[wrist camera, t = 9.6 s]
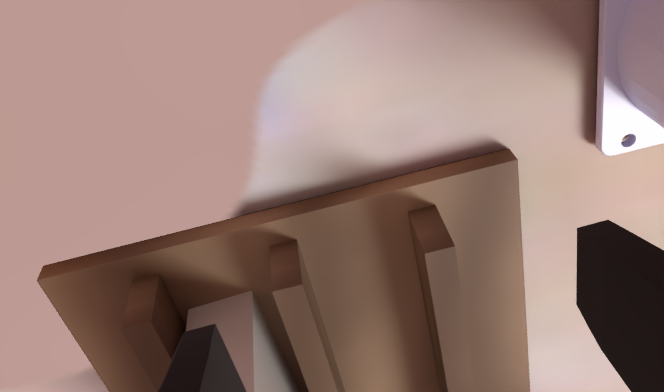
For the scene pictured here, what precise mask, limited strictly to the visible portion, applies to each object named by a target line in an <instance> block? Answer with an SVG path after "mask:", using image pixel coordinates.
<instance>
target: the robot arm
mask: <svg viewBox="0 0 664 392" xmlns="http://www.w3.org/2000/svg"><path fill="white" fill-rule="evenodd" d="M628 134H630V135H629V138H628V139H627V140H625V141H623V142H621V141H622V139H623V138H624V136H626V135H628ZM662 143H664V0H600V8H599V42H598V76H597V111H596V147H597V149H598V150H599V151H600V152H601V153H602V154H603V155H606V156H614V155H618V154H622V153H626V152H630V151H634V150H638V149H642V148H646V147H650V146H654V145H658V144H662ZM576 304H577V306H578V308H579V310H580V312H581V313H582V315H583V317H584V319H585V321H586V323H587V325H588V327H589V329H590V330H591V332H592V334H593V336H594V338H595V339H596V341H597V343H598V345H599V346H600V348H601V350H602V351H603V353H604V354H605V355H606V357H607V358H608V360H609V361H610V363H611V364H612V365H613V367H614V368H615V370H616V371H617V372H618V374H619V375H620V377H621V378H622V379H623V381H624V382H625V384H626V385H627V386H628V388H629V389H630V390H631V392H664V251H663V250H662V249H660V248H658V247H656V246H654V245H653V244H651V243H649V242H647V241H646V240H644V239H642V238H640V237H638V236H637V235H635V234H633V233H631V232H629V231H628V230H626V229H624V228H622V227H620V226H619V225H617V224H615V223H613V222H611V221H609V220H606V221H602V222H598V223H594V224H591V225H587V226H583V227H579V228H577V303H576ZM158 392H246V389H245V387H244V385H243V383H242V381H241V378H240V376H239V374H238V372H237V370H236V368H235V365H234V363H233V361H232V359H231V357H230V354H229V352H228V350H227V348H226V346H225V344H224V341H223V339H222V337H221V335H220V333H219V330H218V328H217V326H216V324H212V325H208V326H204V327H200V328H197V329H193V330H189V331H185V332H184V334H183V335H182V337H181V339H180V341H179V344H178V346H177V348H176V351H175V353H174V356H173V358H172V360H171V363H170V365H169V367H168V370H167V372H166V374H165V376H164V379H163V381H162V383H161V385H160V388H159V390H158Z"/></svg>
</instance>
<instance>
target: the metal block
mask: <svg viewBox="0 0 664 392" xmlns="http://www.w3.org/2000/svg"><path fill="white" fill-rule="evenodd" d="M212 324H216V326H217V328H218V330H219V333H220V335H221V337H222V339H223V341H224V344H225V346H226V348H227V350H228V352H229V354H230V357H231V359H232V361H233V363H234V365H235V368H236V370H237V372H238V374H239V376H240V378H241V381H242V383H243V385H244V387H245V389H246V392H301V390H300V388H299V385H298V383H297V381H296V379H295V377H294V375H293V373H292V371H291V369H290V367H289V365H288V363H287V361H286V359H285V357H284V355H283V352H282V350H281V348H280V346H279V344H278V342H277V340H276V338H275V336H274V334H273V332H272V330H271V328H270V326H269V324H268V322H267V319H266V317H265V315H264V313H263V311H262V309H261V307H260V305H259V303H258V301H257V299H256V297H255V295H254V293H253V291H248V292H245V293H242V294H238V295H235V296H232V297H228V298H225V299H222V300H218V301H215V302H212V303H208V304H205V305H202V306H198V307H195V308H192V309H188V316H187V325H186V331H189V330H193V329H197V328H200V327H204V326H208V325H212Z"/></svg>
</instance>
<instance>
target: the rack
mask: <svg viewBox="0 0 664 392" xmlns="http://www.w3.org/2000/svg"><path fill="white" fill-rule="evenodd" d="M37 281H38V283H39V285H40V286H41V288H42V289H43V291H44V292H45V294H46V295H47V297H48V298H49V299H50V301H51V303H52V304H53V306H54V307H55V309H56V311H57V312H58V313H59V315H60V317H61V318H62V320H63V321H64V323H65V324H66V326H67V327H68V329H69V330H70V332H71V333H72V335H73V336H74V338H75V339H76V341H77V343H78V344H79V346H80V347H81V349H82V350H83V352H84V353H85V355H86V356H87V358H88V359H89V361H90V362H91V364H92V365H93V367H94V369H95V370H96V372H97V373H98V375H99V376H100V378H101V379H102V381H103V382H104V384H105V385H106V387H107V388H108V390H109V391H110V392H158V390H159V388H160V385H161V383H162V381H163V379H164V376H165V374H166V372H167V370H168V367H169V365H170V363H171V360H172V358H173V356H174V353H175V351H176V348H177V346H178V344H179V341H180V339H181V337H182V335H183V334H184V332H185V331H186V325H187V316H188V309H192V308H195V307H198V306H202V305H205V304H208V303H212V302H215V301H218V300H222V299H225V298H228V297H232V296H235V295H238V294H242V293H245V292H248V291H253V293H254V295H255V297H256V299H257V301H258V303H259V305H260V307H261V309H262V311H263V313H264V315H265V317H266V319H267V322H268V324H269V326H270V328H271V330H272V332H273V334H274V336H275V338H276V340H277V342H278V344H279V346H280V348H281V350H282V352H283V355H284V357H285V359H286V361H287V363H288V365H289V367H290V369H291V371H292V373H293V375H294V377H295V379H296V381H297V383H298V385H299V388H300V390H301V392H530V380H529V362H528V343H527V325H526V306H525V288H524V269H523V251H522V232H521V214H520V195H519V177H518V160H517V158H516V157H515V156H514V154H513V153H512V152H511V150H510V149H505V150H501V151H497V152H493V153H489V154H485V155H481V156H477V157H473V158H469V159H466V160H462V161H458V162H454V163H450V164H446V165H442V166H438V167H434V168H430V169H426V170H422V171H418V172H414V173H410V174H406V175H402V176H398V177H394V178H390V179H386V180H382V181H378V182H374V183H370V184H366V185H362V186H358V187H354V188H350V189H346V190H343V191H339V192H335V193H331V194H327V195H323V196H319V197H315V198H311V199H307V200H303V201H299V202H295V203H291V204H287V205H283V206H279V207H275V208H271V209H267V210H263V211H259V212H255V213H251V214H247V215H243V216H239V217H235V218H231V219H227V220H224V221H220V222H216V223H212V224H208V225H204V226H200V227H196V228H192V229H188V230H184V231H180V232H176V233H172V234H168V235H164V236H160V237H156V238H152V239H148V240H144V241H140V242H136V243H133V244H128V245H124V246H120V247H116V248H113V249H108V250H105V251H101V252H97V253H93V254H89V255H85V256H81V257H77V258H73V259H69V260H65V261H61V262H57V263H53V264H49V265H45V266H43V268H42V270H41V272H40V275H39V277H38V279H37Z"/></svg>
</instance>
